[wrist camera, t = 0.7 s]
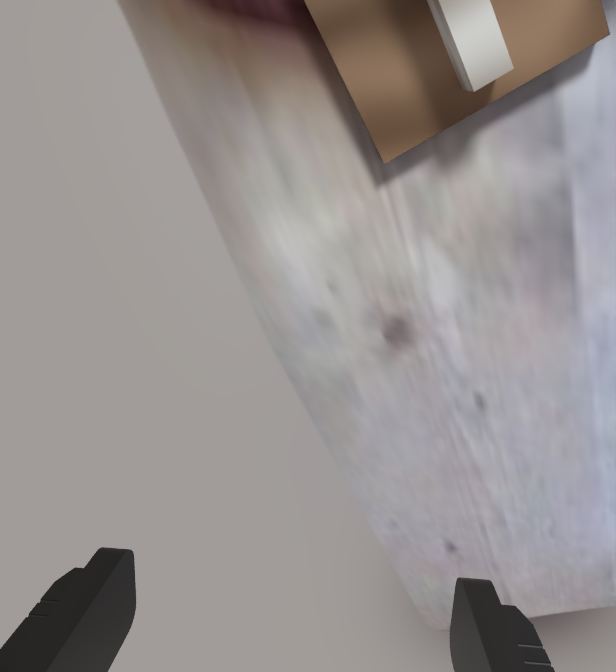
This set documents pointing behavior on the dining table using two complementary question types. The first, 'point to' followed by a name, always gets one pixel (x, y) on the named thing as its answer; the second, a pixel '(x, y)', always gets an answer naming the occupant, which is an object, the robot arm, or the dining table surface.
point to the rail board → (445, 56)
